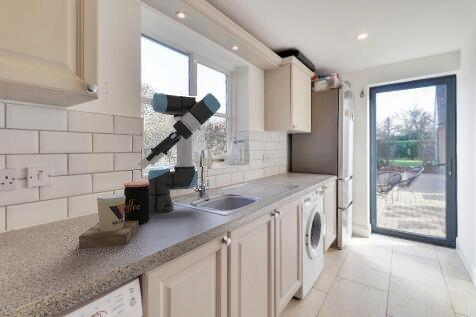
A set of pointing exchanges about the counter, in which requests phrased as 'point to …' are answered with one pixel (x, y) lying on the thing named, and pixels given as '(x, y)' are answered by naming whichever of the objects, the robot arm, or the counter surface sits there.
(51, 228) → the counter surface
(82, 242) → the walnut riser
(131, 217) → the coffee jar
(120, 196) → the coffee cup
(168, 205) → the robot arm
